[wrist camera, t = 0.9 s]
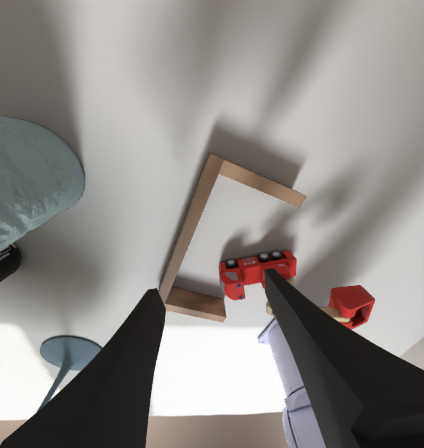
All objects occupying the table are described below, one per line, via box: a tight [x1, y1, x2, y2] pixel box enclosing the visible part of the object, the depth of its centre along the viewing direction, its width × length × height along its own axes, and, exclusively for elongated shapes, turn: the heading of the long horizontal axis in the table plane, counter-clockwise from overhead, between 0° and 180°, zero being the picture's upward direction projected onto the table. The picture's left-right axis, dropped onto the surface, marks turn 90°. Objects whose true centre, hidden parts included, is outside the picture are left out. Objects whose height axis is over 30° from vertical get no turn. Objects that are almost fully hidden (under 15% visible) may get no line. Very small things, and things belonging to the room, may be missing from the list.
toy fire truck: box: [219, 251, 375, 329], centre depth 19 cm, size 3×14×10 cm, turn 100°
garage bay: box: [158, 153, 307, 322], centre depth 21 cm, size 10×20×3 cm, turn 158°
